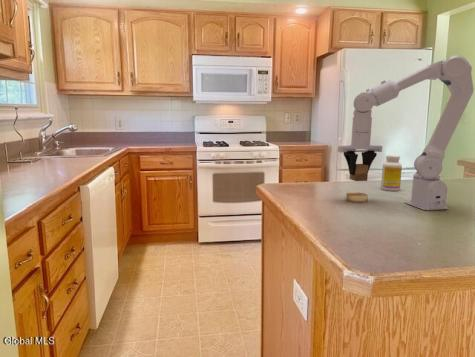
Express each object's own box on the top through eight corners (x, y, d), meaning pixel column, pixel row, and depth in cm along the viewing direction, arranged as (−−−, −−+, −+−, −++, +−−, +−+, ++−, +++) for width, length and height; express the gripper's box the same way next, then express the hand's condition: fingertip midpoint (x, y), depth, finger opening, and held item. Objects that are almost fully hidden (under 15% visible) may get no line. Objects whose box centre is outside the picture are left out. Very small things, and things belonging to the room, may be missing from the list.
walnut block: (367, 180, 113) (368, 165, 112) (355, 181, 112) (356, 165, 111) (360, 178, 117) (361, 163, 116) (349, 179, 116) (350, 164, 115)
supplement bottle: (402, 191, 130) (406, 156, 128) (384, 191, 130) (387, 156, 128) (395, 187, 137) (398, 154, 135) (378, 187, 137) (380, 154, 135)
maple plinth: (371, 202, 113) (371, 196, 113) (352, 203, 112) (353, 197, 112) (360, 197, 120) (360, 191, 119) (342, 198, 118) (343, 192, 118)
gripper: (374, 131, 117) (371, 171, 120) (334, 131, 114) (332, 172, 117) (387, 132, 110) (384, 175, 113) (345, 132, 108) (342, 176, 110)
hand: (358, 174), depth 114 cm, fingers closed on walnut block, 4 cm apart
